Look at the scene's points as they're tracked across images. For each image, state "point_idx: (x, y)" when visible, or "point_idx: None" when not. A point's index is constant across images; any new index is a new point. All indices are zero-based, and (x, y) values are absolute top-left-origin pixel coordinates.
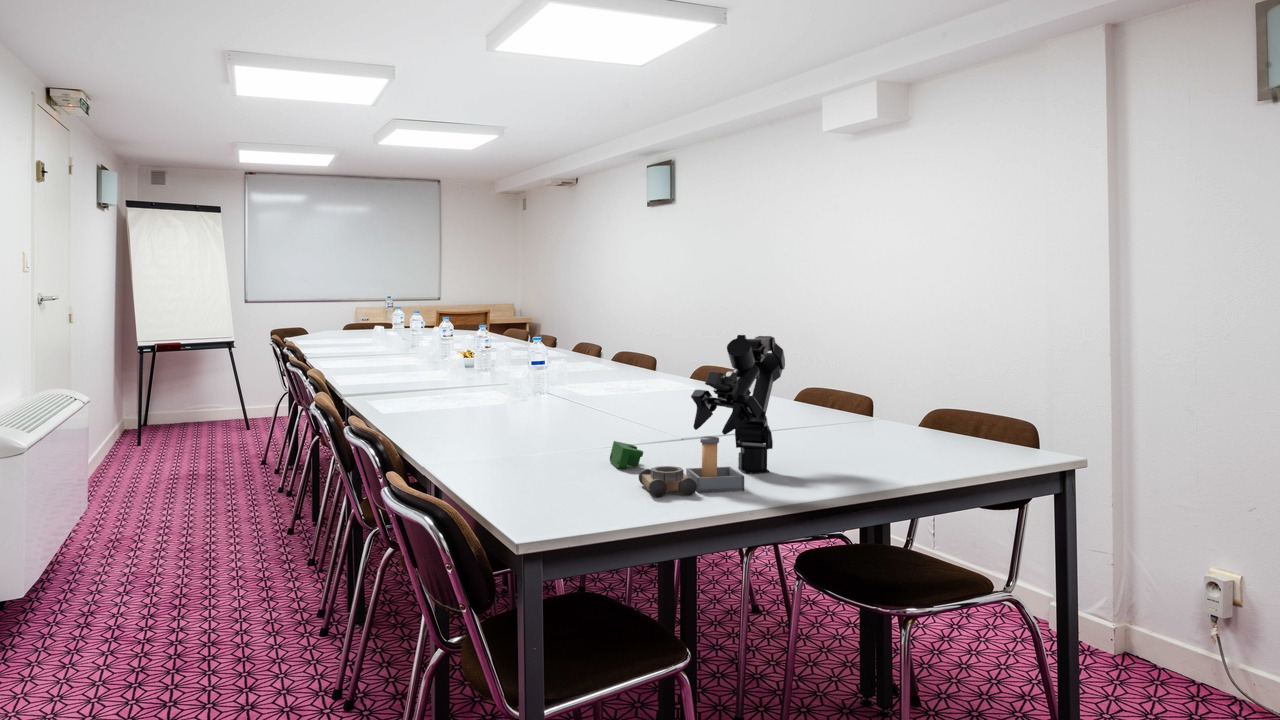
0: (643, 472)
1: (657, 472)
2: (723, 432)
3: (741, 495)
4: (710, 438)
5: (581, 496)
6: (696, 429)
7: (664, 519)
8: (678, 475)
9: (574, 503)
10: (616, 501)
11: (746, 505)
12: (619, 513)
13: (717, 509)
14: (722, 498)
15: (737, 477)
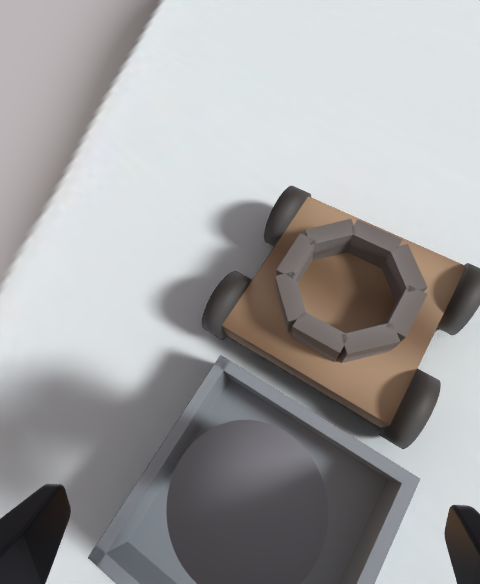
0: (466, 269)
1: (333, 223)
2: (47, 487)
3: (88, 464)
4: (226, 490)
5: (437, 96)
6: (446, 537)
7: (114, 118)
8: (277, 290)
9: (379, 55)
10: (326, 129)
11: (9, 360)
12: (227, 80)
13: (59, 263)
14: (119, 373)
15: (113, 522)
